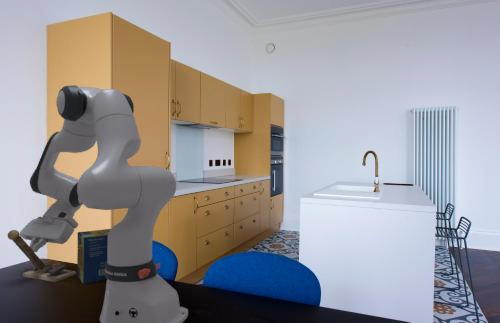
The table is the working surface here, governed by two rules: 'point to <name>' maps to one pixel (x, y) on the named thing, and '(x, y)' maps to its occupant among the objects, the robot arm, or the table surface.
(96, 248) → the protein box
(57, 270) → the block
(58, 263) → the button
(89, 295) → the table surface
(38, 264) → the lever
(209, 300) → the table surface
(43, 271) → the board
